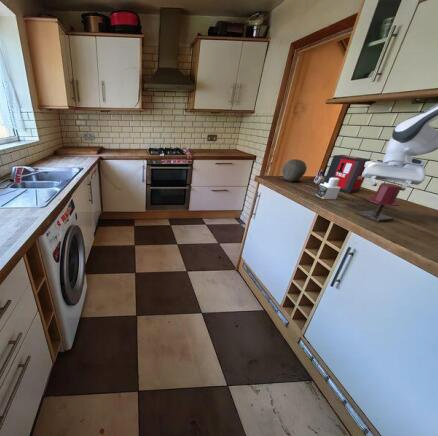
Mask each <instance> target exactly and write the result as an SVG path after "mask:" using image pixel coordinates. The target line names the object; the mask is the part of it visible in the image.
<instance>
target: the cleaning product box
mask: <svg viewBox="0 0 438 436" xmlns="http://www.w3.org/2000/svg"><path fill="white" fill-rule="evenodd" d="M370 160H373V159H370V158H366V157H365V158H364V157H358V156H354V155H346V154H334V155H333V157H332V158H331V162H330V165H329V167H328V170H327V172H326V175H325V178H324V180H323V183H322V184H324V182H325V179H326V177H328V176H333V177H337V178H339V182H338V184H337V185H336V186H338V187H340V190H339V192H344V193H347V194H353V193H354V194H355V193H359V191H360V190H361V187H362V185H363V184H364V180H365V179H366V178H365V177H363V176H362V173H363V171H364V169H365V166H364V165H365V162H367V161H370Z"/></svg>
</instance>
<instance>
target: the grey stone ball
mask: <svg viewBox="0 0 438 436" xmlns="http://www.w3.org/2000/svg"><path fill="white" fill-rule="evenodd" d="M307 168H308V167H307V164H306V162H305V161H303V160H301V159H297V158H296V159H295V158H293V159H289V160H287V161H286V162H285V163H284V165H283V166H282V169H281V175H282V177H283V179H284V180H285V181H287V182H291V183H293V182H296V181H299V180H300V179H301V178H302V177H304V175H305V174H306V172H307Z"/></svg>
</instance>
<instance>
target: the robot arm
mask: <svg viewBox="0 0 438 436" xmlns="http://www.w3.org/2000/svg"><path fill="white" fill-rule="evenodd" d="M437 119H438V102H437V103H435V104H433V105H432V106H429V107H428V108H426V109H424V110H422V111H421V112H419V113H417V114H415V115H413V116H411V117H408V118H407V119H404V120H402V121H401V122H399V123H398V124H397V125H395V127H394V128H393V130H392V134H391V137H390V139H389V140H388V142H387V145H386V148H385V151H384V152H385V154H384V155H383V157H382V160H374V159H372V160H370V161H367V162H365V165H364V166H365V169H364V171H363V173H362V176H363V177H365V178H364V179H366V178H367V179H369V180H370V182H371V183H372V184H371V187H377V186H378V183H379V181H380V180H381V181H387V182H394V183H401V184H402V185H400V186H401V190H400V191H402V192H404V191H406V190H407V187H409V186H410V185H415V186H418V185H420V184H422V183H423V182H424V181H425V179H426V168H425V167H424V166H425V164H426V161H425V160H422V159H419V158H416V156H421V155H422V156H423V155H425V154H429V153H433V152H435V151H436V150H437V151H438V130H437V128H434V127H433V126H431V125H430V124H431V123H432V122H434V121H436V120H437ZM377 180H379V181H377Z"/></svg>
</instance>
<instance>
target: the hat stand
mask: <svg viewBox="0 0 438 436" xmlns="http://www.w3.org/2000/svg"><path fill="white" fill-rule="evenodd" d="M384 207H385V205H381V204H377V206H376V207H375V210H364V211H362V210H361V211H358V212H357V215H359V216H362V217H365V218H367V219H370V220H372V221H374V222H376V223H377V222H378V223H382V222H393V221H394V220H395V217H392V216H389V215H386V214H383V213H382V211H383V208H384Z"/></svg>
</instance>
